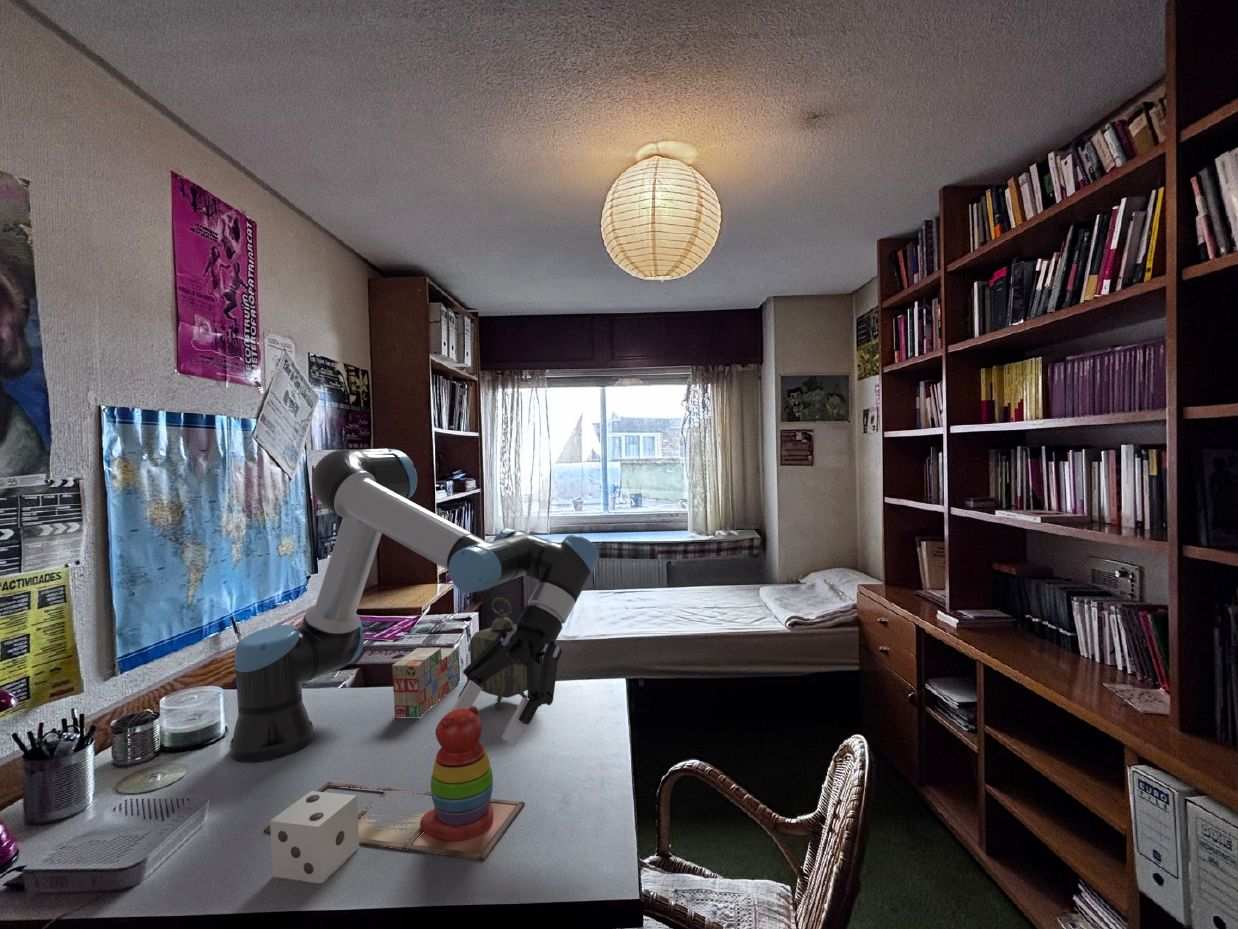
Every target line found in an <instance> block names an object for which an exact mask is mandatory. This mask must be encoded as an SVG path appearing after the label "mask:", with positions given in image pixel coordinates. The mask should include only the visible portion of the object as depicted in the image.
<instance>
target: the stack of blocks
mask: <svg viewBox="0 0 1238 929" xmlns="http://www.w3.org/2000/svg"><path fill="white" fill-rule="evenodd" d="M457 651H458V650H457V648H455V647H454V648H453V647H452V648H448V647H447V648H441V647H417V648H415V649H414V650H413V651H410V653H408V654H407V655H405V656H404V657H402V658H401V659H400V660H397V661H396V662H395V663H394V664H392V665H391V667H392V687H393V689H392V690H393V701H394V707H393V708H394V718H395V717H421V716H422V715H423V714H424V713H425V712H426V711H428V709H430V707H431V706H433V705H435V704H436V702H438V700H439V699H441V700H443V698H445V696H444V695H445V694H447V693H448V694H449V693H450V692H452V691H453V689H455V688H456V687H457V686H458V685H459V684H460V679H459V664H458V663H459V662H458V661H459V660H458V655H457V654H458V652H457ZM448 694H447V695H448ZM442 697H443V698H442ZM438 703H439V702H438ZM436 705H437V704H436ZM436 705H435V706H436Z"/></svg>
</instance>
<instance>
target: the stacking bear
mask: <svg viewBox="0 0 1238 929" xmlns="http://www.w3.org/2000/svg"><path fill="white" fill-rule="evenodd" d="M482 731H483V726H482V722H481V719H480V717H479V709H478V707H476V705H475V706H474V705H472V707H470V708H469V709H468V710H467V709H457V710H453V711H448V712H447V713H446V714H445V715H444V716H443V717H442V718H441V719H440V721H439V723H438V724H437V726H436V727H435V738H436V740H437V741H438V742H437V743H438V744H439V746H440V747H441V748H440V749H438V751H437V753H436V756H435V760H434V763H433V768H432V769H433V770H432V774H431V780H430V792H431V795H432V801H433V804H434V809H433V810H431V811H429V812H427V813H426V814H424V815H423V817H422V819H421V821H420V827H421V829H422V830H423V831H424V832H425V833H427V834H428V835H430V836H432V837H435V838H438V839H443V840H449V841H460V840H466V839H470V838H473V837H476V836H478V835H480V834H482V833H483V832H485V831H486V830H487V829H488V828H489V827H490V826H491V824H492V822H493V809H492V805H491V803H490V799H492V794H493V786H494V776H493V769H492V765H491V763H490V757H489V755H488V752H487V750H486V749H485V748H484V746H483V745H482V743H480V742H479V741H480V740H481V736H482Z"/></svg>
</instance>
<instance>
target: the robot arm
mask: <svg viewBox="0 0 1238 929" xmlns="http://www.w3.org/2000/svg"><path fill="white" fill-rule="evenodd" d="M417 486H418V474H417V470H416V468H415V467H414V462H413V461H412V459H411V458H410V457H409V456H408V455H407V454H406V453H404V452H403V451H401V450H398V449H396V448H386V447H380V448H365V449H364V448H362V449H361V448H360V449H359V448H358V449H357V448H356V449H355V448H353V449H352V448H351V449H350V448H348V449H347V448H345V449H343V448H342V449H337V450H334V451H332V452H329V453H327V454H326V455H324V456H323V457H322V458H321V459H320V460H319V461H318V462H317V464H316V465H315V466H314V469H313V471H312V476H311V487H312V491H313V493H314V495H315V498H316V499H317V500H318V502H319V503H321V505H322V506H323V507H325V508H326V509H327V510H329V511H331V512H332V513H334V514H335V515H337V516H340V517H341V518H342V519H341V523H340V525H339V529H338V532H337V534H336V537H335V541H334V544H333V549H332V552H331V555H330V559H329V562H328V564H327V568H326V571H325V574H324V577H323V580H322V584H321V587H320V590H319V593H318V597H317V599H316V602H315V603H316V604H314V605H311V606H310V607H308V609H306V611H305V613H304V616H303V620H302V623H301V624H300V626H299V627H297V626H296V625H293V624H280V625H274V626H272V627H266V628H262V629H258V630H257V631H253V632H251V633H250V634H248V635H246V636H244V637H243V638H242V639H240V641H238V643H237V645H236V647H235V650H234V664H233V666H234V669H235V679H236V681H235V682H236V698H237V712H238V714H237V719H236V721H235V722H236V723H235V726H234V729H233V736H232V738H231V739H230V743H229V750H230V751H229V753H230V758H231V759H232V760H233V761H236V762H241V763H260V762H265V761H270V760H275V759H279V758H282V757H286V756H288V755H291V754H293V753H296V752H297V751H299V750H302V749H303V748H305V747H306V746H308V745H309V744H310V743H311V742H312V741H313V739H314V724H313V723H312V721H311V720H310V717H309V715H308V712H307V709H306V707H305V704H304V702H303V688H302V686H303V685H302V684H304V683H307V682H309V681H312V680H314V679H318V678H319V677H322V676H324V675H327V674H330V673H333V672H336V671H338V670H341V669H343V668H344V667H346V666H348V665H349V664H351V663H353V662H354V661H356V659H357V658H359V656H360V655H361V652H362V650H363V648H364V644H365V634H364V633H363V631H364V627H363V625H362V623H361V618H360V616H359V614H358V613H357V610H358V607H359V604H360V601H361V598H362V596H363V593H364V590H365V587H366V583H367V580H368V577H369V574H370V572H371V568H372V565H373V561H374V559H375V557H376V556H375V555H376V552H377V549H378V547H379V543H380V540H381V537H382V535H385V536H386V537H387V538H390V539H392V540H394V542H397V543H399V544H400V545H402V546H404V547H406V548H408V549H410V550H411V551H412V552H414V553H417V554H419V556H422V557H423V558H426V559H427V560H429V561H431V562H432V563H434V564H436V565H438V566H440V567H441V568H443V569H445V570H447V571H448V574H449V578H450V580H451V581H452V582H453V584H454V586H455V588H456V589H457V590H459V591H461V592H464V593H467V594H468V593H471V594H472V593H476V592H483V591H487V590H489V589H491V588H493V587H495V586H499V585H500V584H501V585H502V584H504V583H506V582H509V581H512V580H514V579H517V578H519V577H520V578H521V577H523V576H525V577H529V578H532V579H534V580H538V581H539V583H538V584H537V586H536V587H535V589H534V590H533V592H532V594H531V595H530V597H529V599H528V600H527V604H528V605H526V606H525V607H524V608H523V610H522V612H521V613H520V615H519V617H518V619H517V620H516V625H517V630H516V632H515V633H514V634H513V635H509V634H508V633H507V632H506V631H504V630H502V631H501V632H500V633H499V635H498V636H497V638H496V639H495V640H494V641H493V642H492V643H491V644H490V645H489V646H488V647H487V648H486V649H485V650H484V651H483V652H482V653H481V654H480V655H479V656H478V657H477V658H476V659H475V660H474V661H473V662H470V663H468V665H467V666H466V667H465V668H464V669H463V671H462V672H463V675H465V677H466V678H467V681H466V683H465V684H464V687H462V689H461V691H460V693H459V695H458V699H457V701H456V702H455V704H454V705H453V707H452V709H451V711H453V710H457V709H467V710H468V709H469V708H470V707H472V706H474V704H475V701H476V700H477V698H478V697H479V695H480V693H481V692H482V691H481V689H482V685H481V684H482V683H484V682H485V681H487V680H488V679H489V678H491V677H492V676H494V675H495V674H496V673H498V672H499V671H501V670H502V669H504V668H505V667H506V666H508V665H513V664H514V663H515V664H517V665H524V666H525V667H526V673H527V689H528V690H527V693H526V694H525V696H526V697H527V699H528V700H527V699H526V698H523V697H522V698H521V700H520V702H519V703H518V706H517V707H516V709H515V712H514V713H513V716H512V717H511V719H510V720H509V722H508V724H507V726H506V727H505V730H504V731H503V734H502V735H501V737H500V738H501V739H502V740H504V741H505V742H506V743H508V744H509V745H510V746H513V747H516V745H517V743H518V742H519V739H520V738H521V735H522V734H523V732H524V730H525V728H526V727H527V726H528V725H530V724H531V722H532V720H533V718H534V716H535V714H536V713H537V710H538V709H539V707H541V706H542V705H547V706H551V705H552V704H553V702H554V695H555V689H556V681H557V680H556V679H557V673H558V664H559V660H560V657H561V655H562V652H563V649H562V648H561V647H559V645H558V644H556V641H557V639H558V637H559V636H560V633H561V631H562V629H563V625H564V624H565V623H566V622H567V620H568V617H569V616H570V614H571V612H572V610H573V608H574V606H575V604H577V601H578V599H579V597H580V595H581V594H582V593H583V592H582V591H583V589H584V588H585V586H587V583H588V581H589V579H590V577H591V576H593V572H594V569H595V568H596V566H597V564H598V561H599V558H600V553H599V549H598V548H597V547H596V545H595V544H594V543H593V542H592V541H590V540H589V539H588V538H585V537H583V536H581V535H578V534H574V535H573V534H569V535H567V536H566V537H565V538H563V540H562V541H561V543H558V542H555V541H550V540H548V539H545V538H542V537H539V536H536V535H533V534H531V533H527V532H526V531H524V530H519V529H513V528H510V527H509V528H504V529H502V530H501V531H500V532H499V533H498V534H496V536H495V537H494V539H493V540H492V541H487V540H485V539H483V538H481V537H479V536H477V535H475V534H473V533H471V532H470V531H467V530H466V529H465V528H462V527H460V526H458V525H456V523H453V522H451V521H449V520H447V519H445V518H443V517H441V516H439V515H438V514H436V513H434V512H432V511H430V510H428V509H427V508H425V507H423V506H421V505H419V504H417V503H415V502H413V501H411V500H409V499H410V498H411V497H412V496H413V495H414V493H415V491H416V489H417ZM508 652H509V653H508ZM507 653H508V654H507ZM472 670H474V671H472ZM478 677H479V678H478ZM451 711H450V712H451Z"/></svg>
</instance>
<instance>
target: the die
mask: <svg viewBox="0 0 1238 929" xmlns="http://www.w3.org/2000/svg"><path fill="white" fill-rule="evenodd" d="M357 797H358V796H357V795H354V794H346V793H336V792H335V793H334V792H327V791H323V792H318V791H317V790H310V791H309V792H308V793H307V794H305V795H303V796H302V797H301V798H299V799H298V800H296V801H295V802H294V803H292V804H291V805H290V806H288V807H287V808H286V809H284V810H283V811H282V812H280V813H279V814H277V815H276V816H274V817H273V818H272V819H271V820H269V822H270V824H269V825H270V828H271V833H270V841H271V842H270V843H271V856H272V858H271V859H272V873H273V874H272V876H273V878H280V879H285V878H286V880H292V879H293V881H299V880H300V882H305V881H306V882H307V883H311V884H312V883H314V884H319V883H322V884H323V883H324V882H326V880H327V879H329V878H330V877H331V876H332V875H333V874H334V873H335V872H336V871H337V870H338V869H339V868H340V867H341V866H342V865H344V864H345V863H346V861H347V860H346V859H348V858H349V857H350V856H351V855H352V854H353V853H354V852H355V851H356V850H357V849H358V848H359V847H360V845H359V829H358V814H359V813H358V798H357ZM359 849H360V848H359ZM359 849H358V850H359ZM358 850H357V851H358ZM357 851H356V852H357ZM356 852H355V853H356ZM355 853H354V854H355ZM354 854H353V855H354ZM353 855H352V856H353ZM352 856H351V857H352ZM351 857H350V858H351ZM350 858H349V859H350ZM339 866H340V867H339ZM334 871H335V872H334ZM333 872H334V873H333ZM332 873H333V874H332ZM331 874H332V875H331ZM330 875H331V876H330ZM329 876H330V877H329ZM328 877H329V878H328ZM301 880H302V881H301Z"/></svg>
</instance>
